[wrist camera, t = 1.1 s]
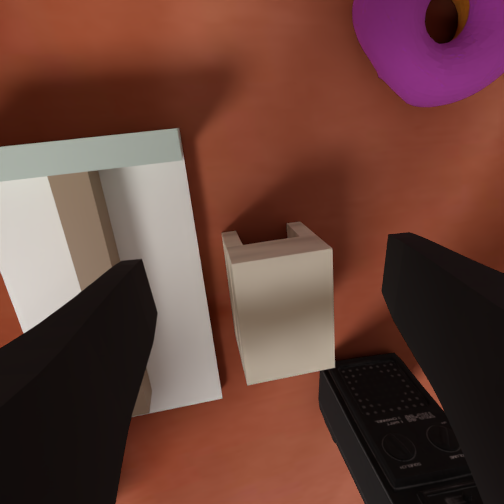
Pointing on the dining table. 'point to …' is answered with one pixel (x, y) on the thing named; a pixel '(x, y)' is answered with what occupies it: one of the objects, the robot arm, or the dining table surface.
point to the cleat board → (138, 238)
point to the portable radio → (393, 434)
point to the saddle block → (282, 303)
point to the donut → (431, 48)
